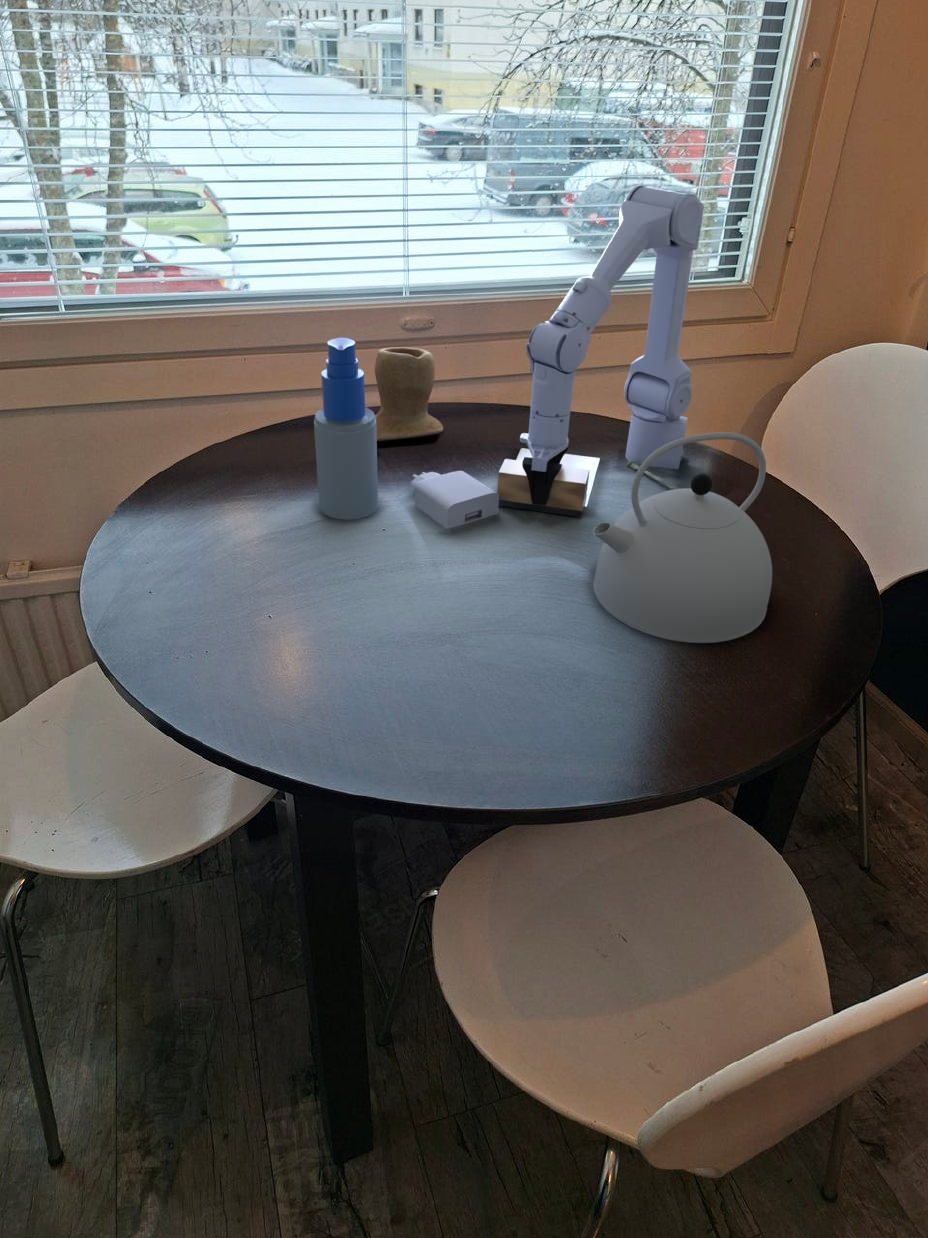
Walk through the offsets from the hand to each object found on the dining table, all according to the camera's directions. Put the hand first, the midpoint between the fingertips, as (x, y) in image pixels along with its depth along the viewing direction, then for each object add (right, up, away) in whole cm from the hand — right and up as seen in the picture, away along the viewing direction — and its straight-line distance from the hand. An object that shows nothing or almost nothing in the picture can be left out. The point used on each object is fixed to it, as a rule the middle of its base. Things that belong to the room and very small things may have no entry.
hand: (542, 495), depth 133 cm
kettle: (+16, -15, -16) cm, 27 cm away
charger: (-15, -2, +2) cm, 15 cm away
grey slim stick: (+21, +1, +7) cm, 23 cm away
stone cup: (-24, +14, +24) cm, 37 cm away
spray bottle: (-29, -2, +1) cm, 29 cm away
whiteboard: (+2, +4, +10) cm, 11 cm away
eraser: (0, -1, +1) cm, 1 cm away
